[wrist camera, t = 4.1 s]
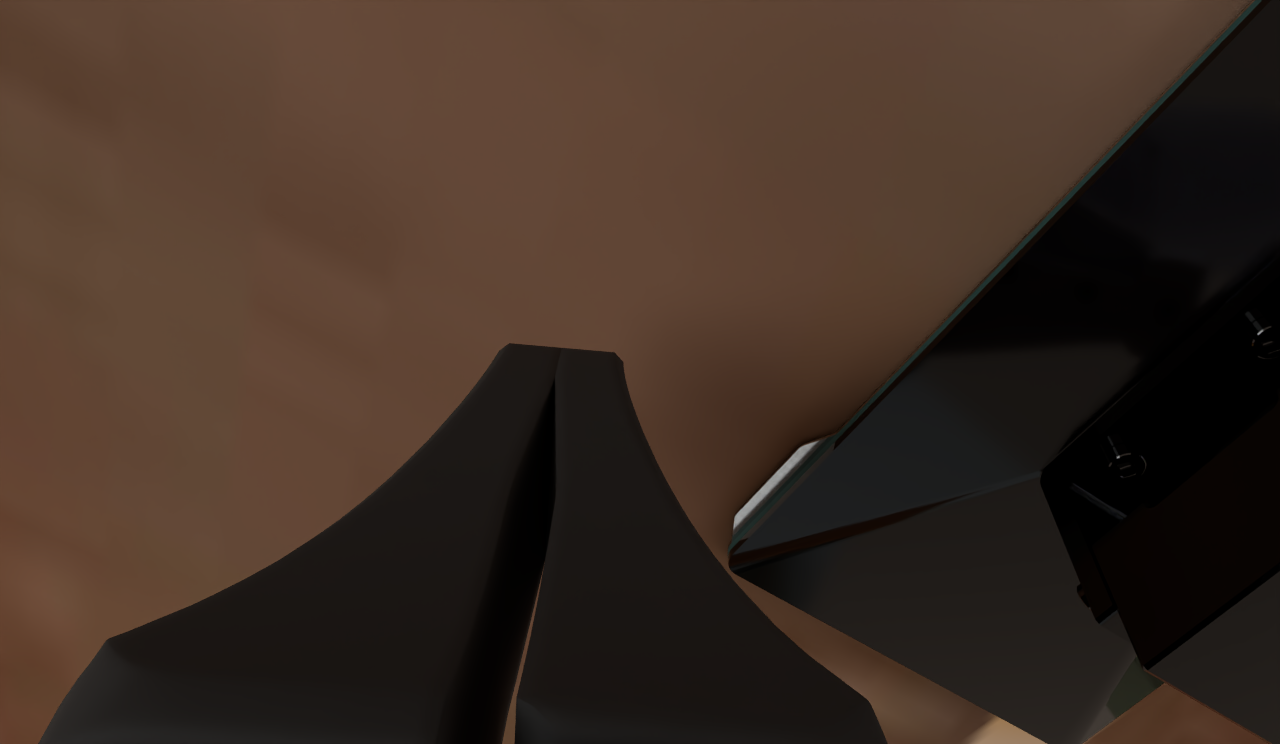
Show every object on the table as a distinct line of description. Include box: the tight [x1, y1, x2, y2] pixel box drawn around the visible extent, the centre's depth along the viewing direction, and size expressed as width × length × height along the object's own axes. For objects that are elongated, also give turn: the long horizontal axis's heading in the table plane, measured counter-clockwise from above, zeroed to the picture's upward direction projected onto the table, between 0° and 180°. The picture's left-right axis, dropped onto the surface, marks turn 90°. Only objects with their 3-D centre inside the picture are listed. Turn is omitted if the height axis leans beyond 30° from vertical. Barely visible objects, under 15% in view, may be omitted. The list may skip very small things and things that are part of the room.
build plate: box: [728, 0, 1280, 744], centre depth 14 cm, size 12×7×5 cm, turn 146°
